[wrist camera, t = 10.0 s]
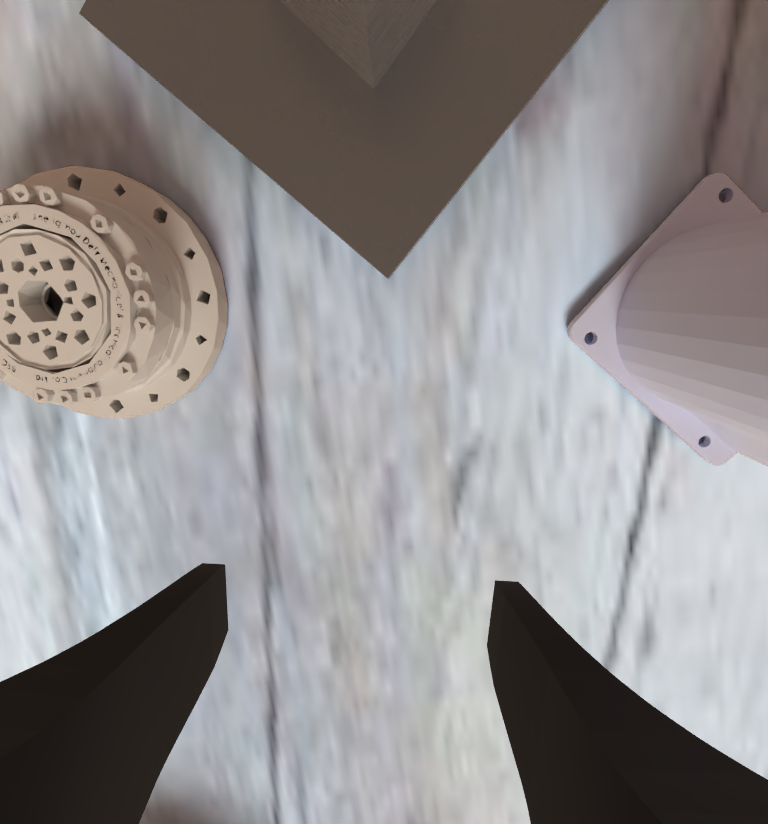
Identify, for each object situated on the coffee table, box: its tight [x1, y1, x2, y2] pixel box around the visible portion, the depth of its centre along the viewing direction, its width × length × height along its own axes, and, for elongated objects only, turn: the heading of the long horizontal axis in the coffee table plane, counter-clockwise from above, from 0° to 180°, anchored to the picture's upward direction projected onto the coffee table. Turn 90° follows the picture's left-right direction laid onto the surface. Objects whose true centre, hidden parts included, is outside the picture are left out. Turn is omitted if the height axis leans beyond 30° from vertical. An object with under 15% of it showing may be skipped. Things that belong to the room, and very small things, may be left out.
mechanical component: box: [0, 165, 228, 418], centre depth 17 cm, size 10×4×10 cm
